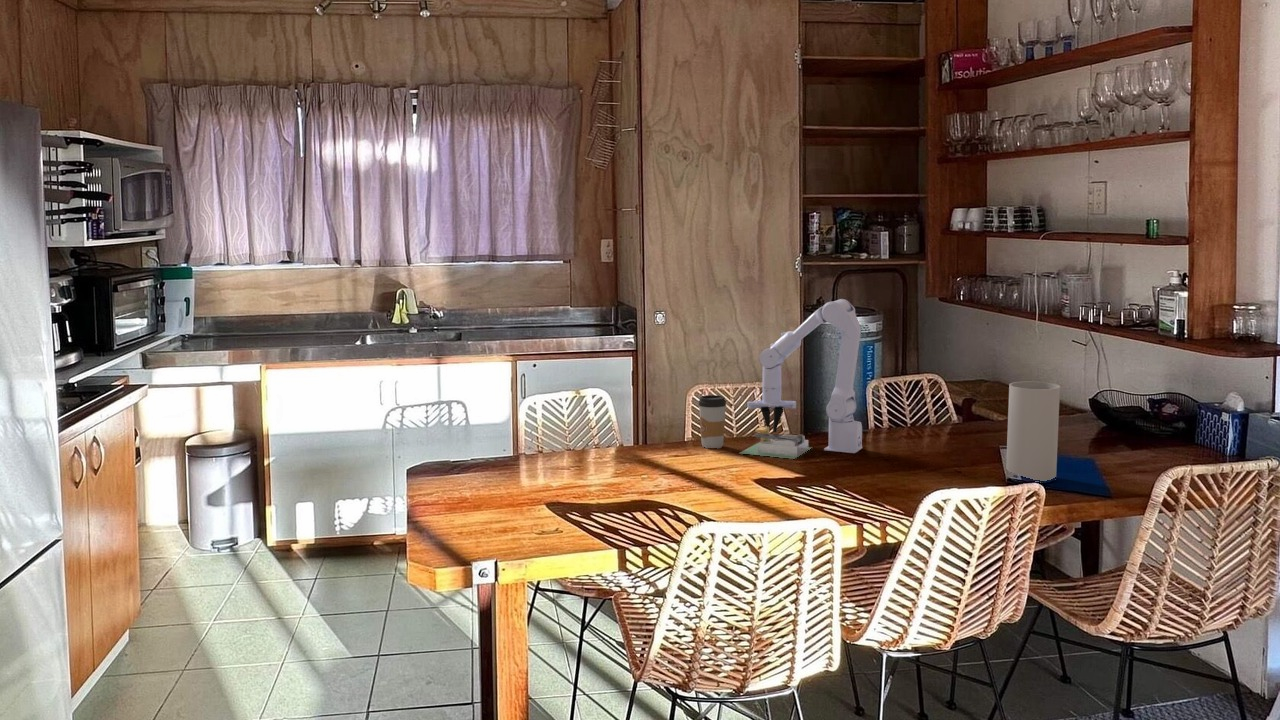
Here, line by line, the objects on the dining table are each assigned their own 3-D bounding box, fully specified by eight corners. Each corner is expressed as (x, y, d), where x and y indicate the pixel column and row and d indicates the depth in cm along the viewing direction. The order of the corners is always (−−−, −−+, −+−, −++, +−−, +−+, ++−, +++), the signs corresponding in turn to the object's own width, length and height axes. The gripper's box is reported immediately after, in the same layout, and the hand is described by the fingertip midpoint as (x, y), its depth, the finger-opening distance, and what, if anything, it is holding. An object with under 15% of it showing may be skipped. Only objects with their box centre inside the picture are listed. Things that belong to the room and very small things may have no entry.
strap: (801, 441, 338) (801, 437, 337) (798, 443, 335) (798, 439, 335) (757, 435, 344) (757, 431, 343) (753, 437, 341) (754, 433, 341)
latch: (769, 444, 348) (769, 426, 347) (762, 448, 343) (762, 430, 343) (761, 444, 349) (761, 426, 348) (755, 447, 344) (755, 429, 344)
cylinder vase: (1023, 486, 298) (1027, 390, 295) (996, 475, 310) (999, 382, 306) (1065, 482, 301) (1070, 387, 298) (1037, 471, 313) (1041, 380, 310)
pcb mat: (812, 448, 344) (812, 447, 344) (794, 459, 330) (794, 458, 330) (758, 443, 352) (758, 442, 352) (738, 454, 338) (739, 453, 338)
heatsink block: (808, 450, 341) (808, 433, 340) (796, 457, 332) (797, 440, 331) (769, 446, 346) (769, 429, 345) (757, 453, 337) (757, 436, 337)
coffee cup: (693, 445, 350) (693, 396, 348) (717, 442, 354) (717, 394, 351) (706, 450, 343) (706, 400, 340) (731, 447, 346) (731, 398, 344)
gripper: (749, 390, 347) (749, 434, 349) (797, 389, 347) (797, 434, 349) (746, 386, 354) (746, 429, 356) (794, 385, 354) (793, 429, 356)
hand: (771, 431), depth 353 cm, fingers closed
